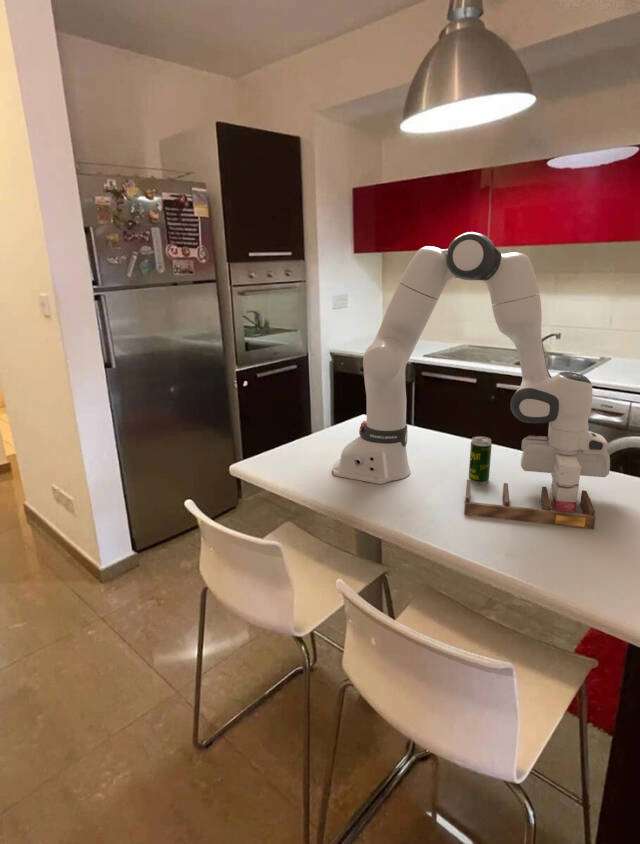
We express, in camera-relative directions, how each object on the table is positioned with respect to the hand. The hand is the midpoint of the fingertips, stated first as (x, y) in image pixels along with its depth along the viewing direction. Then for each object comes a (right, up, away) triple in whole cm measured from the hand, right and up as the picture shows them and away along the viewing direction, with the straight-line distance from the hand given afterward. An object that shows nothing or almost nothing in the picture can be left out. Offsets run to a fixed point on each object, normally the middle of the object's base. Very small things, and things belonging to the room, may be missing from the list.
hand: (560, 488), depth 131 cm
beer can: (-18, +1, +11) cm, 21 cm away
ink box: (-2, -3, -4) cm, 6 cm away
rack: (-12, -4, -6) cm, 14 cm away
